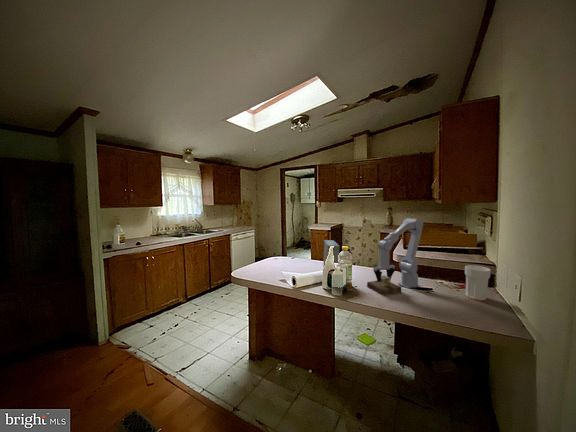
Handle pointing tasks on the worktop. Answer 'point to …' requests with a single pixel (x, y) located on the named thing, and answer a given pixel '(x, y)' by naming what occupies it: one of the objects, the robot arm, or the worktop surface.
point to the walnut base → (384, 288)
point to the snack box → (326, 249)
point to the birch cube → (384, 281)
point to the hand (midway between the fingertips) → (383, 280)
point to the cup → (477, 282)
